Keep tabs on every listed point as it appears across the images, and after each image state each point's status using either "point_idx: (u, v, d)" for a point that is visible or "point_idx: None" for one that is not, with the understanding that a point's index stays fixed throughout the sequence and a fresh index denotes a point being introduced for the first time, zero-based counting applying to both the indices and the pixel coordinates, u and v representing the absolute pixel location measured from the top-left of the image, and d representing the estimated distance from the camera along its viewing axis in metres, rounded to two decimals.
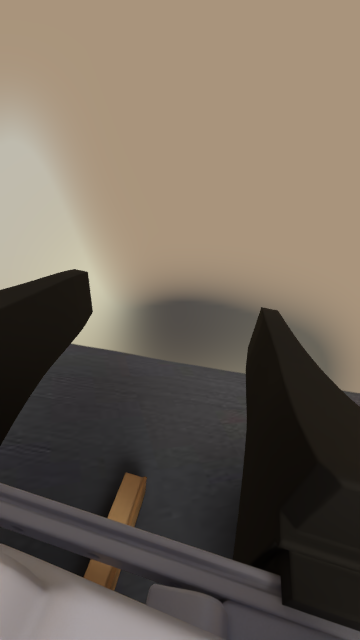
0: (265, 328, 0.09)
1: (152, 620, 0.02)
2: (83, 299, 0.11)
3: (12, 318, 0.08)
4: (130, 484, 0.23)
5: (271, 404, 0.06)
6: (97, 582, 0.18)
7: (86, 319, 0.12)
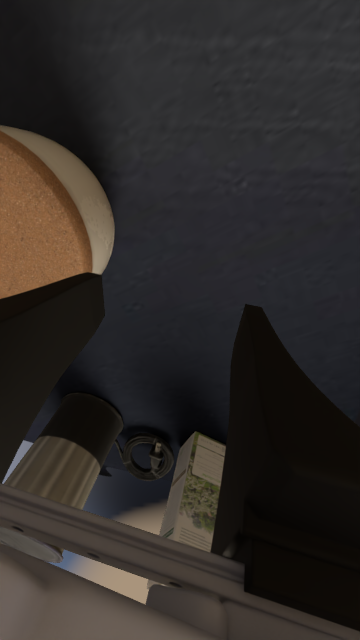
0: (247, 324, 0.09)
1: (152, 620, 0.02)
2: (96, 302, 0.11)
3: (31, 323, 0.08)
4: None
5: (247, 398, 0.07)
6: None
7: (99, 322, 0.12)
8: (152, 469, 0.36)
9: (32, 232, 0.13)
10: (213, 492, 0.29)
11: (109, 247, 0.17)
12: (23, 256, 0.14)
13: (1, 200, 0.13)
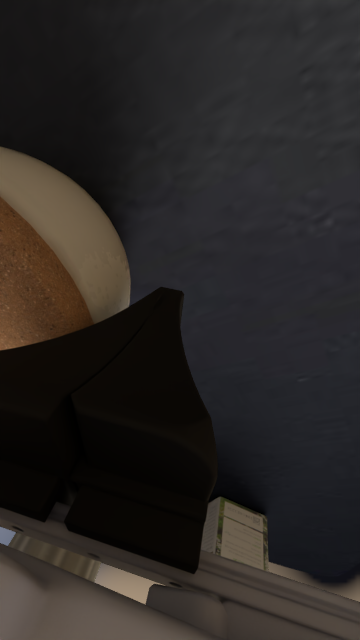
0: None
1: (152, 620, 0.02)
2: None
3: None
4: None
5: None
6: None
7: None
8: None
9: None
10: None
11: None
12: None
13: None
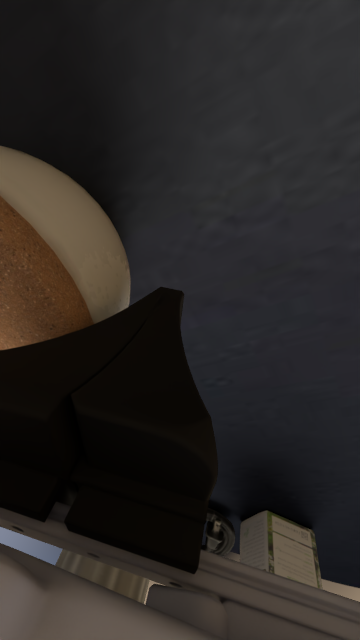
0: None
1: (152, 620, 0.02)
2: None
3: None
4: None
5: None
6: None
7: None
8: (208, 549, 0.30)
9: None
10: None
11: None
12: None
13: None
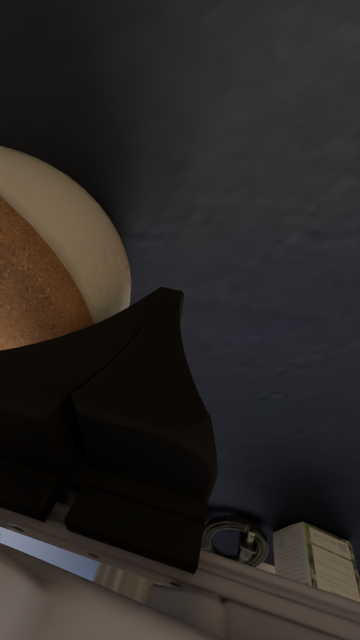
0: None
1: (152, 620, 0.02)
2: None
3: None
4: None
5: None
6: None
7: None
8: (240, 560, 0.30)
9: None
10: None
11: None
12: None
13: None
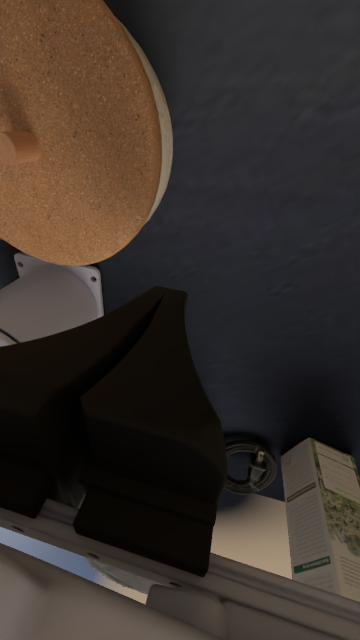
0: None
1: (152, 620, 0.02)
2: None
3: (127, 345, 0.07)
4: None
5: None
6: None
7: None
8: (250, 481, 0.32)
9: (90, 121, 0.10)
10: (354, 510, 0.24)
11: None
12: (73, 162, 0.11)
13: (52, 70, 0.09)
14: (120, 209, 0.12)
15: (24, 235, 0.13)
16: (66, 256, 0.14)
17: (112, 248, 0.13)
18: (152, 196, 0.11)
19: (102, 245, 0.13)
